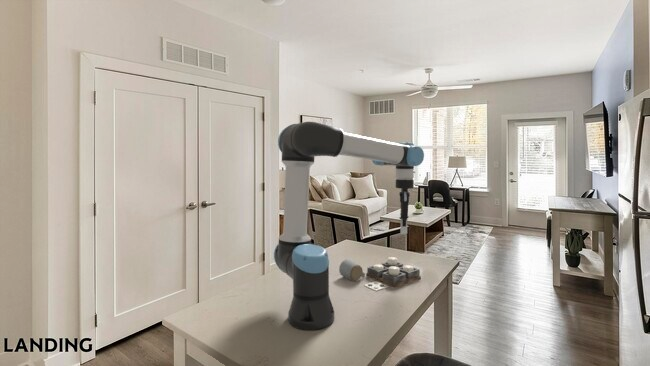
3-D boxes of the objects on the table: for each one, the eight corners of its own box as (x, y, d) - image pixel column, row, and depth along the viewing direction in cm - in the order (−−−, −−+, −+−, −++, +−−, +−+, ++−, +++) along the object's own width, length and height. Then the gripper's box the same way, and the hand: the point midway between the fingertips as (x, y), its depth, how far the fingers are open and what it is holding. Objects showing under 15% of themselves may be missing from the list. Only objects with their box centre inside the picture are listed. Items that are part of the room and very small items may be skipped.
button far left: (392, 268, 148) (392, 260, 148) (385, 265, 152) (385, 258, 151) (399, 266, 151) (399, 258, 151) (392, 263, 154) (392, 256, 154)
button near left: (378, 276, 143) (378, 268, 143) (371, 273, 147) (371, 265, 146) (385, 273, 146) (385, 266, 145) (378, 271, 149) (378, 263, 149)
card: (376, 291, 131) (376, 289, 131) (363, 285, 136) (363, 284, 136) (388, 286, 135) (388, 285, 135) (376, 281, 140) (376, 280, 140)
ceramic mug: (351, 283, 139) (351, 265, 138) (338, 277, 145) (338, 260, 145) (369, 278, 145) (369, 261, 144) (356, 273, 152) (357, 256, 151)
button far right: (408, 277, 141) (408, 269, 141) (400, 274, 145) (400, 266, 144) (415, 275, 144) (415, 267, 144) (407, 272, 147) (407, 264, 147)
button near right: (394, 278, 136) (394, 270, 135) (386, 275, 139) (386, 267, 139) (401, 276, 138) (401, 268, 138) (393, 273, 142) (393, 265, 142)
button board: (395, 287, 134) (395, 278, 133) (366, 275, 147) (366, 267, 147) (420, 278, 143) (420, 269, 143) (390, 268, 157) (391, 259, 157)
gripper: (415, 180, 135) (414, 237, 137) (412, 177, 147) (411, 230, 149) (396, 179, 136) (395, 236, 138) (394, 177, 149) (394, 229, 151)
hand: (403, 233), depth 144 cm, fingers closed
